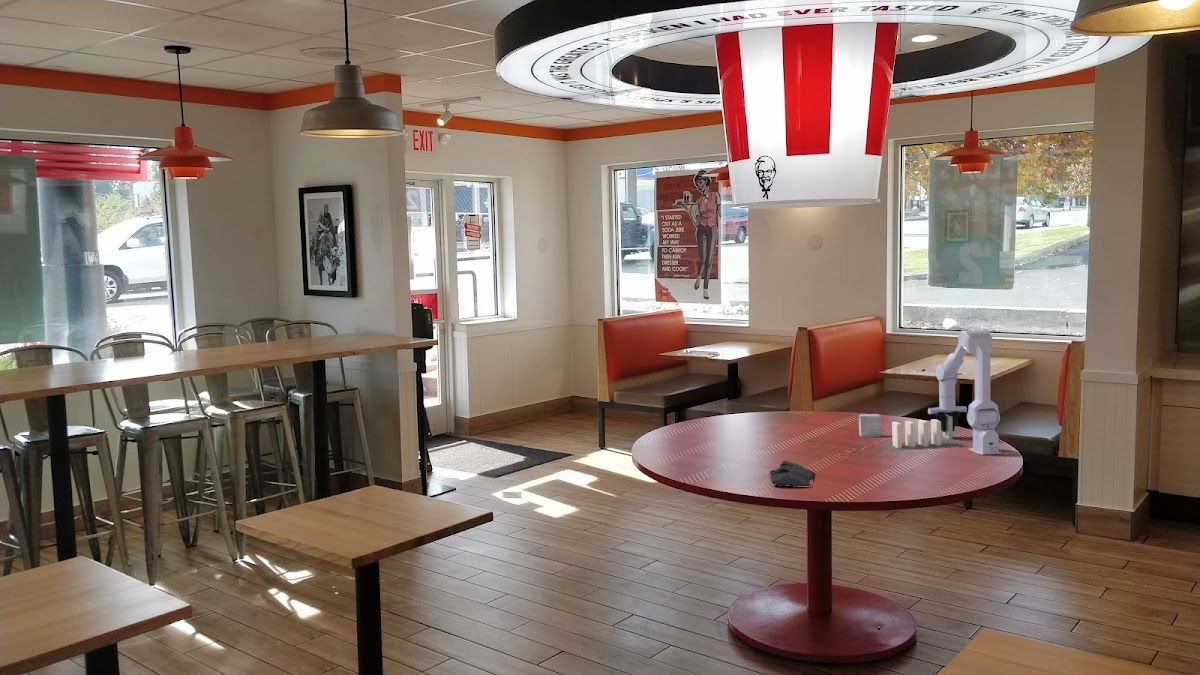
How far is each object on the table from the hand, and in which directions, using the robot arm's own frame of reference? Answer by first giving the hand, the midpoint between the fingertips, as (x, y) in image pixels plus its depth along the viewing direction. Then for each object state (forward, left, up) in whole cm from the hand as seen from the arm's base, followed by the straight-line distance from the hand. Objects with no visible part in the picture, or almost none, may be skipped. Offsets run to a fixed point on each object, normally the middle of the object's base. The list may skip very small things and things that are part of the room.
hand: (947, 431), depth 359 cm
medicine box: (+13, +26, -3) cm, 29 cm away
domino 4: (-10, +9, -2) cm, 14 cm away
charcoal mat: (-10, +14, -3) cm, 17 cm away
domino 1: (-10, +24, -2) cm, 26 cm away
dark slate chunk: (-47, +75, -4) cm, 89 cm away
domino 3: (-10, +14, -2) cm, 17 cm away
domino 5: (0, 0, -3) cm, 3 cm away
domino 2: (-10, +19, -2) cm, 22 cm away
